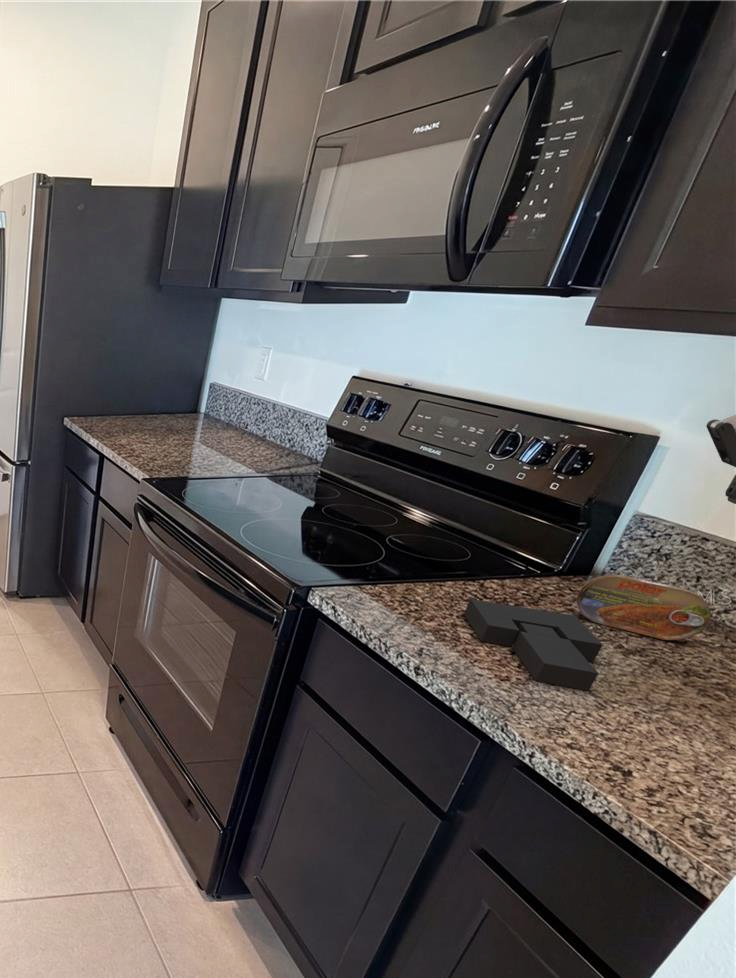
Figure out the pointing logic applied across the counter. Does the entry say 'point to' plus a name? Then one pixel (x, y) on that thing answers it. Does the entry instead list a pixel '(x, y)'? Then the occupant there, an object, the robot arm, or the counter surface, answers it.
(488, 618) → the notch pad
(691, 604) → the tin
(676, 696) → the counter surface
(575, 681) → the pad
